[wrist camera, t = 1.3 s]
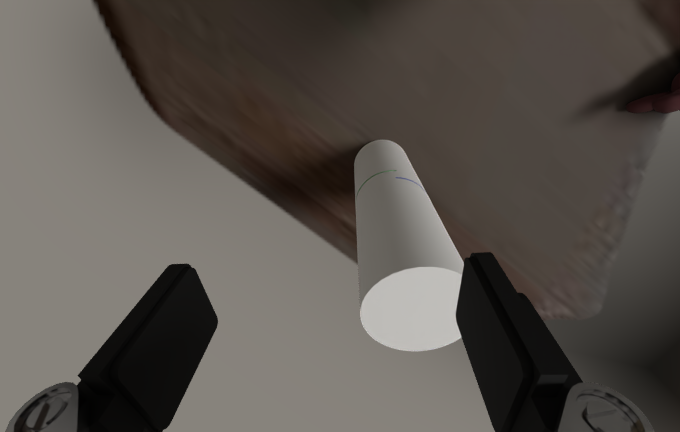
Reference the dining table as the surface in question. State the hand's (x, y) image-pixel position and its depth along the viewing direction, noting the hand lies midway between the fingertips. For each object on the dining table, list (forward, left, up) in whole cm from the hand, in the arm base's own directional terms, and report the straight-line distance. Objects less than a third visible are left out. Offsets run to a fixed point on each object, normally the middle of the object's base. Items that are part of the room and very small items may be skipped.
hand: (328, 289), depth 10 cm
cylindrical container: (-2, +8, -30) cm, 31 cm away
